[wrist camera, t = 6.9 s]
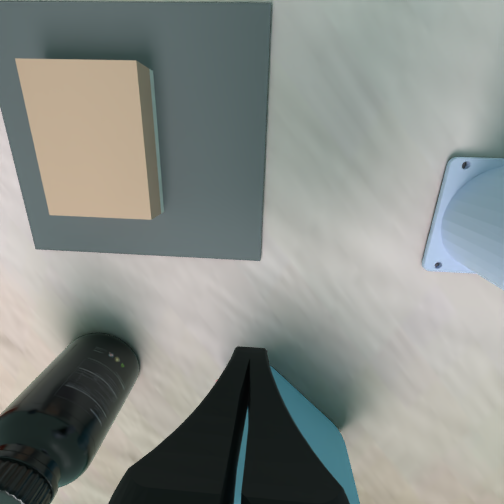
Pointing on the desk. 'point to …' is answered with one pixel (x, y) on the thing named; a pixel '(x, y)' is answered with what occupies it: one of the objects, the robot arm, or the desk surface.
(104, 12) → the mat
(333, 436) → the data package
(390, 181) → the desk surface
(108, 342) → the supplement bottle
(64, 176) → the tile
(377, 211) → the desk surface
